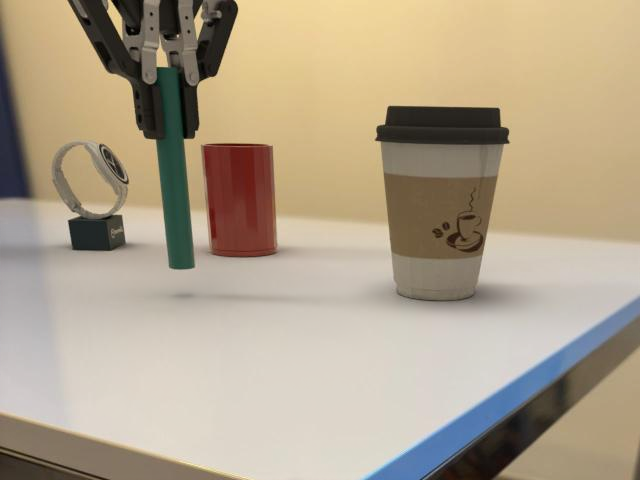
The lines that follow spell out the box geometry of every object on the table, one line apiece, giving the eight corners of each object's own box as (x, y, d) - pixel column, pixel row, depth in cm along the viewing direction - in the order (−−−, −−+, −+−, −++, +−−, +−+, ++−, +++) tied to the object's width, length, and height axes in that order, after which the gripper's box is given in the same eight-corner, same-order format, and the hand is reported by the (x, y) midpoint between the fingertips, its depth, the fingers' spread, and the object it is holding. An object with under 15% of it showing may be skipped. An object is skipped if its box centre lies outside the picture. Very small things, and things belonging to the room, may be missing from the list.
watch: (127, 250, 88) (113, 143, 83) (56, 249, 88) (38, 141, 83) (142, 242, 93) (129, 140, 88) (75, 241, 93) (58, 139, 88)
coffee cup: (421, 311, 64) (429, 106, 57) (349, 286, 72) (348, 104, 65) (524, 297, 70) (542, 108, 63) (446, 275, 78) (455, 106, 71)
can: (197, 250, 89) (187, 143, 84) (252, 243, 94) (246, 142, 89) (234, 259, 84) (226, 147, 79) (290, 252, 89) (286, 145, 84)
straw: (164, 266, 67) (143, 66, 60) (186, 264, 69) (168, 68, 62) (177, 270, 66) (157, 66, 59) (200, 267, 67) (183, 67, 60)
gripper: (200, -109, 61) (217, 136, 69) (22, -147, 53) (65, 137, 61) (256, -125, 56) (267, 140, 64) (69, -170, 48) (109, 142, 56)
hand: (169, 137), depth 62 cm, fingers closed on straw, 2 cm apart
